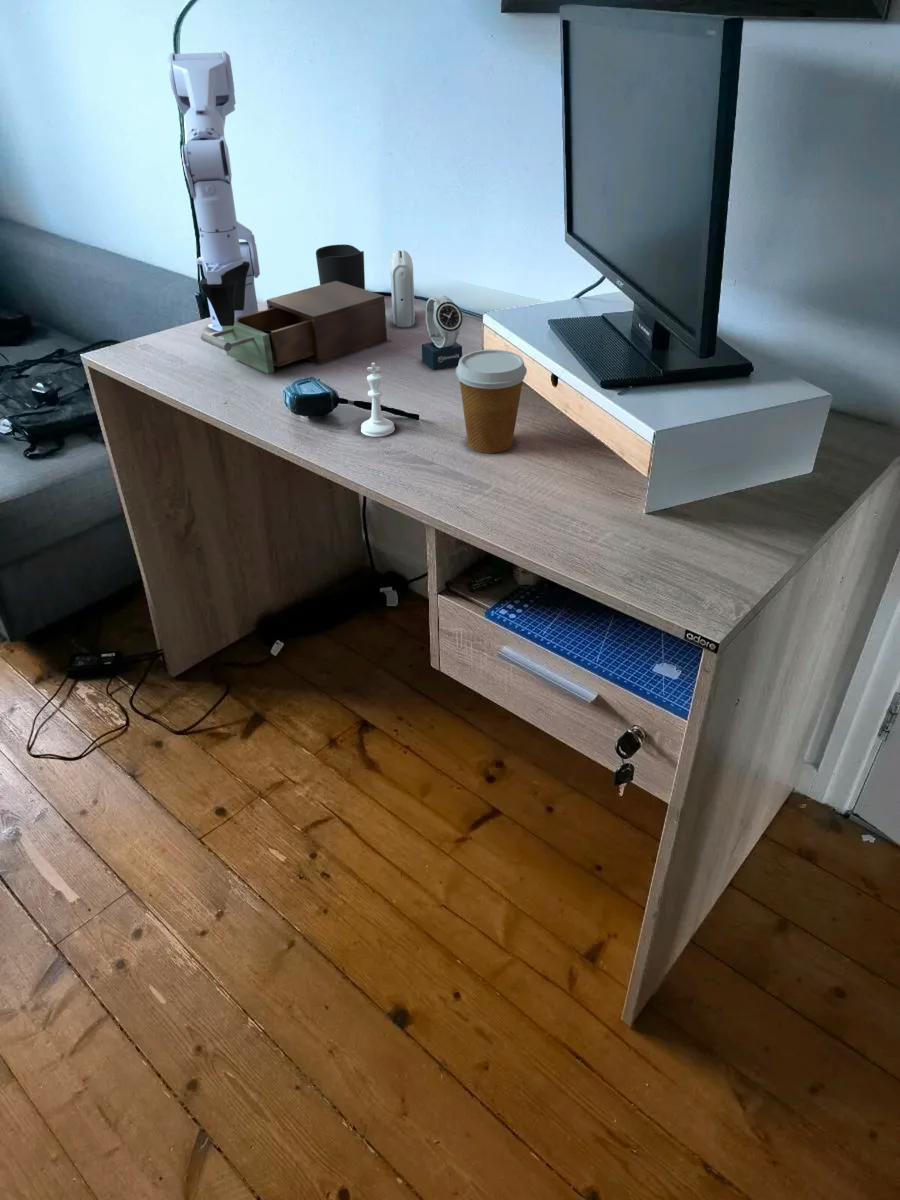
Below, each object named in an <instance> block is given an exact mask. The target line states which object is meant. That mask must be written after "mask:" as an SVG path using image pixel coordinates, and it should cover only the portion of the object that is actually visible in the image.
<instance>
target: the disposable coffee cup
mask: <svg viewBox="0 0 900 1200" xmlns="http://www.w3.org/2000/svg"><path fill="white" fill-rule="evenodd" d="M527 373H528V369H527V367H526V366H525V361H524V359H523V357H522V355H521V356H520V355H519V354H518V353H515V352H513V351H509V350H502V349H480V350H474V351H469V352H468V353H465V354H464V355H462V357H461V358H460V360H459V364H458V365H456V368H455V374H456V377H457V379H458V380H459V386H460V387H459V388H460V394H461V402H462V403H461V404H462V410H463V415H464V417H463V419H464V424H465V432H466V439H467V445H468V447H469V448H470V449H471V450H473V451H475V452H479V453H483V454H484V453H485V454H495V453H501V452H505V451H506V450H509V449H510V448H511V447H512V446H513V441H514V437H515V436H514V435H515V429H516V423H517V418H518V417H517V416H518V412H519V406H520V405H519V404H520V399H521V393H522V387H523V381H524V379H525V376H526V375H527Z"/></svg>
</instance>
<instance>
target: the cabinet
mask: <svg viewBox="0 0 900 1200" xmlns="http://www.w3.org/2000/svg"><path fill="white" fill-rule="evenodd" d="M266 304H267V305H266V306H267V309H269V308H272V307H276V308H279V309H282V310H285V311H287V312H290V313H293V314H296V315H298V316H301V317H304V318H307V319H309V320H312V328H313V337H314V346H315V355H313V356H310V357H307V358H305V359H306V360H308V361H311V362H313V363H316V364H324V363H326V362H328V361H332V360H334V359H337V358H341V357H344V356H347V355H349V354H350V355H351V354H353V353H355V352H358V351H360V350H361V351H362V350H365V349H367V348H370V347H374V346H376V345H379V344H382V343H385V342H388V332H387V331H388V330H387V313H386V298H385V295H383V294H380V293H376V292H374V291H371V290H367V289H365V290H364V289H361V288H358V287H355V286H351V285H348V284H345V283H342V282H339V281H334V282H330V283H326V284H323V285H320V284H319V285H315V286H312V287H308V288H305V289H301V290H297V291H292V292H290V293H285V294H281V295H279V296H275V297H272V298H268V299H266Z"/></svg>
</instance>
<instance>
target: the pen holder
mask: <svg viewBox="0 0 900 1200" xmlns="http://www.w3.org/2000/svg"><path fill="white" fill-rule="evenodd" d="M315 258H316V265H317V266H316V267H317V273H318V279H319V285H323V284H326V283H330V282H334V281H339V282H342V283H345V284H348V285H351V286H355V287H358V288H361V289H364V290H366V278H365V252H364V250H362V251H361V250H359V249H358V248H357V247H355V246H354V245H351V244H343V243H342V244H330V245H326V246H325V245H324V246H322V247H320V248H317V249H316V251H315Z"/></svg>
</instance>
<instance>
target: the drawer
mask: <svg viewBox="0 0 900 1200" xmlns="http://www.w3.org/2000/svg"><path fill="white" fill-rule="evenodd" d="M259 330H274V331H271V337H272V344H273V351H274V352H271V346H270V339H269V334H267V333H264V332H262V331H259ZM221 336H223V339H222V338H219V337H221ZM200 339H201V341H203V342H204V343H206V344H209V345H211V346H214V347H216V348H218V349H220V350H223V351H225V352H226V356H227V357H229V358H232V359H234V360H237V361H239V362H240V363H243V364H245V365H247V366H250V367H252V368H255V369H257V370H258V371H261V372H263V373H266V374H268V375H269V374H271V373H275V368H274V366H275V367H277V368H279V367H282V366H285V365H288V364H292V363H294V362H297V361H300V360H303V359H306V358H307V357H310V356H313V355H315V346H314V337H313V328H312V320H309V319H307V318H304V317H301V316H298V315H296V314H293V313H290V312H287V311H285V310H282V309H279V308H276V307H272V308H269V309H268V308H266V309H262V310H258V312H255V313H251V314H247V315H244V316H240V317H237V318H236V321H234V325H233V326H222V331H218V332H217V331H215V332H212V333H211V332H210V333H208V332H202V333H201V335H200Z"/></svg>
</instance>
